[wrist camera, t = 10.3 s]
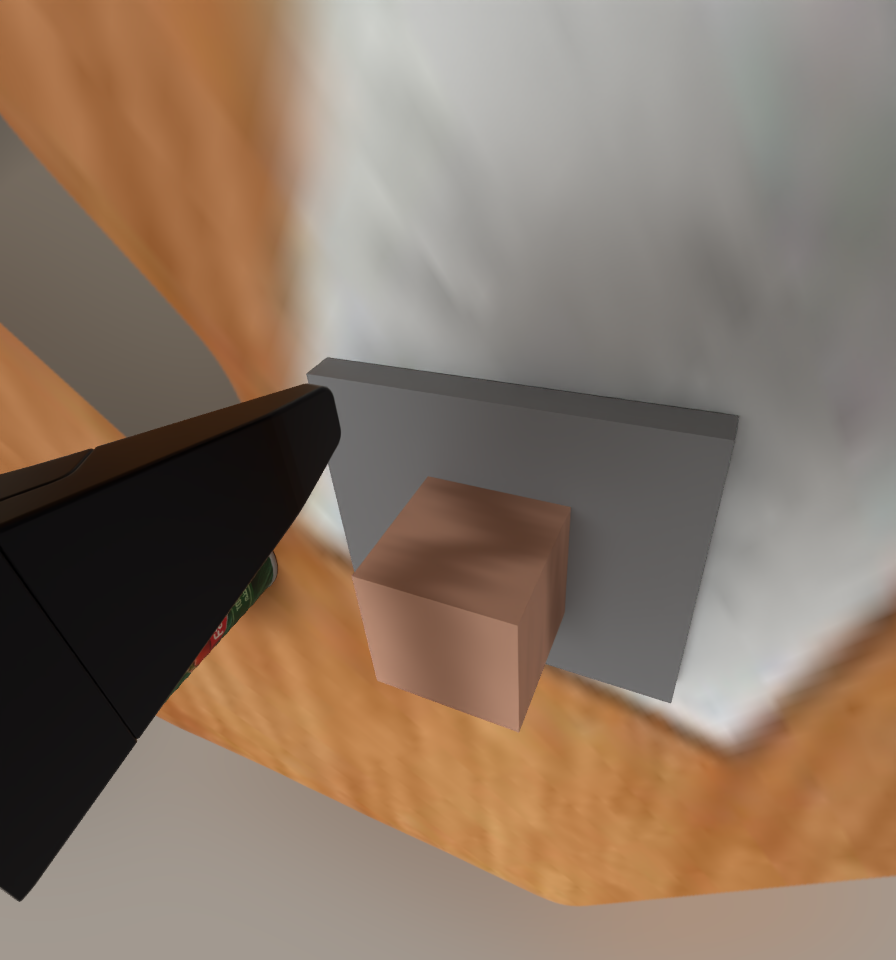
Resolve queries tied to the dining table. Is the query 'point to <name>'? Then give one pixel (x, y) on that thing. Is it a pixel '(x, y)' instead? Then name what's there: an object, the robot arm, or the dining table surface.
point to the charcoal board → (551, 495)
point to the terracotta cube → (466, 597)
